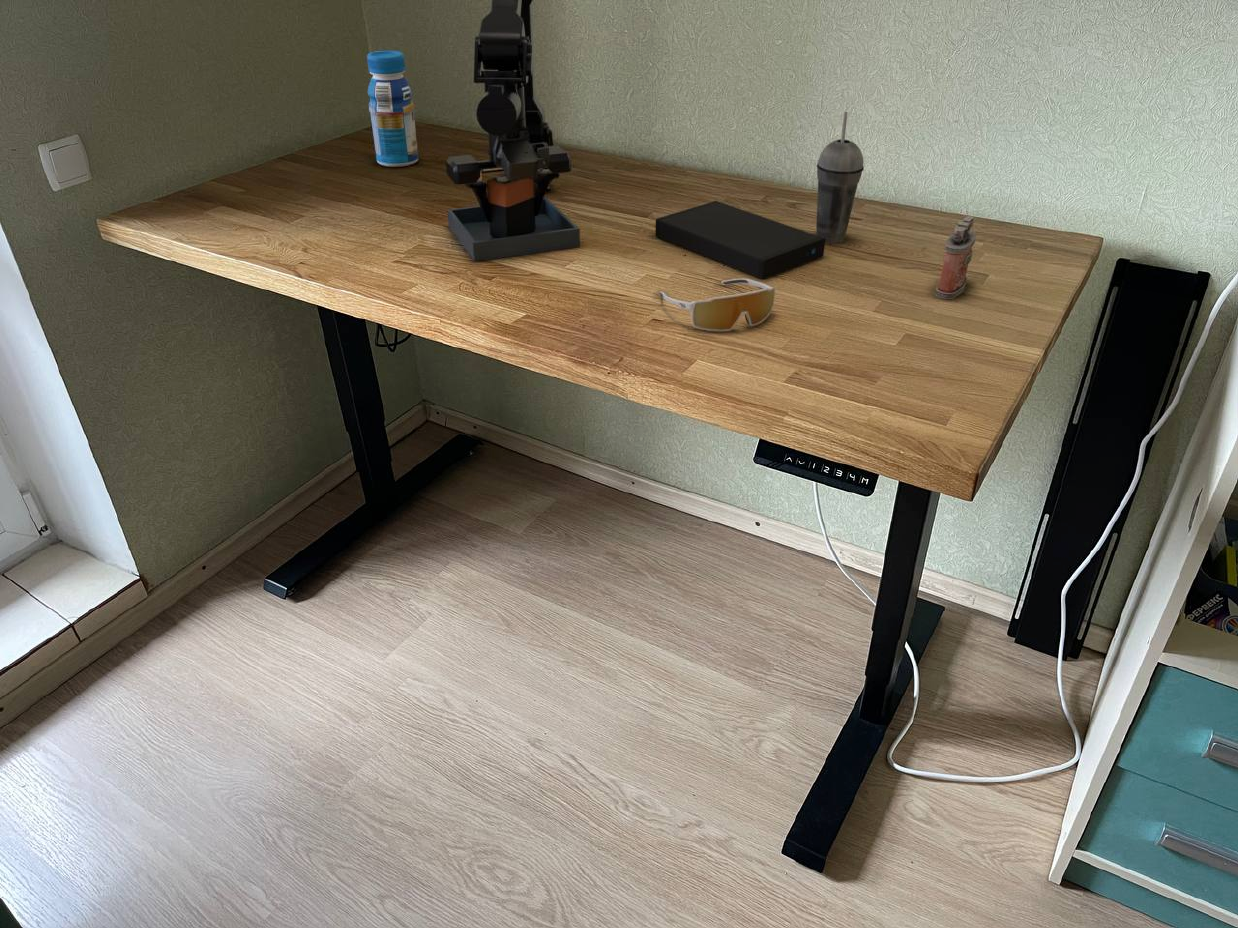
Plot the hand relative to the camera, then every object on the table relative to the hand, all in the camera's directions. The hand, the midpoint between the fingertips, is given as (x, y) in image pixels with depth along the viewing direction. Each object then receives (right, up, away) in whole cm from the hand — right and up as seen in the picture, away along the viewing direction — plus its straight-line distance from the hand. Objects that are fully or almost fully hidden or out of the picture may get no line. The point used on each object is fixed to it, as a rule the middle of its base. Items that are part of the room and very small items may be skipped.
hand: (512, 218), depth 153 cm
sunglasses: (+31, -18, -21) cm, 41 cm away
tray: (0, -3, +2) cm, 3 cm away
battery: (0, -2, +1) cm, 3 cm away
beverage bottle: (-27, +20, +36) cm, 49 cm away
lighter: (+65, -14, -14) cm, 68 cm away
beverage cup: (+52, -3, +2) cm, 52 cm away
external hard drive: (+36, -5, -1) cm, 36 cm away
